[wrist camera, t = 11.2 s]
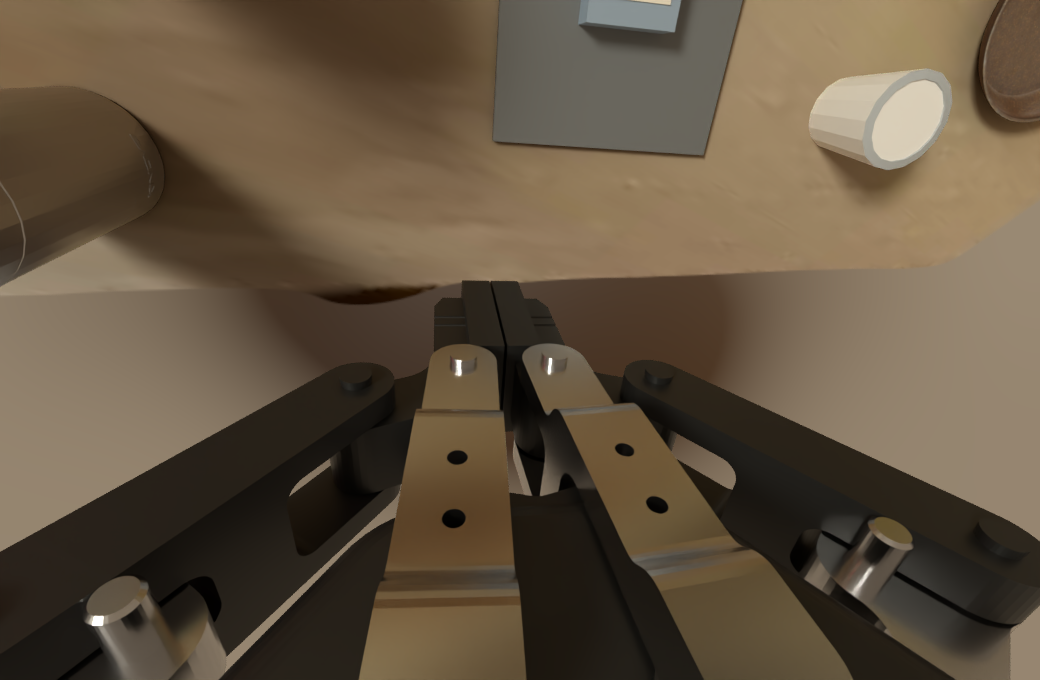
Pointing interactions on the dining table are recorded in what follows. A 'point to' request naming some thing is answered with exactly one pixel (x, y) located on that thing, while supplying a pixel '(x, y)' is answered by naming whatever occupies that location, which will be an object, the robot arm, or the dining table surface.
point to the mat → (609, 78)
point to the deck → (631, 14)
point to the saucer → (1012, 60)
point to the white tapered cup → (882, 116)
